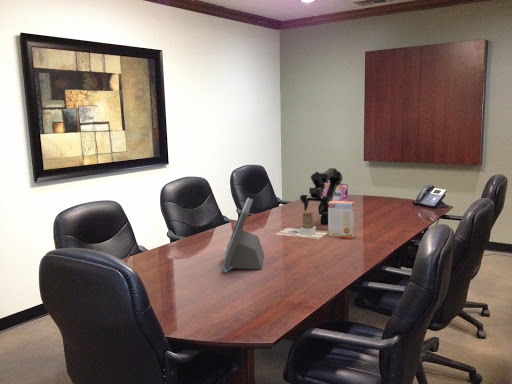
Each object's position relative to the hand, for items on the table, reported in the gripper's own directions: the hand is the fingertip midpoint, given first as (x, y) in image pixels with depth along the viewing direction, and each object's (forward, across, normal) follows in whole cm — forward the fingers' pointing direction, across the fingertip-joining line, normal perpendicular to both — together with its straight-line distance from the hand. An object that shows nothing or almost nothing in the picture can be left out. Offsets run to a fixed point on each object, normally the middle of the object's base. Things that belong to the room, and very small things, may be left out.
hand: (312, 211), depth 290 cm
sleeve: (+14, 0, +4) cm, 14 cm away
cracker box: (+12, +20, +6) cm, 24 cm away
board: (+13, -4, +5) cm, 15 cm away
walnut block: (+14, 0, +4) cm, 14 cm away
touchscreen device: (+57, -9, -38) cm, 69 cm away
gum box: (-66, -23, +85) cm, 110 cm away
